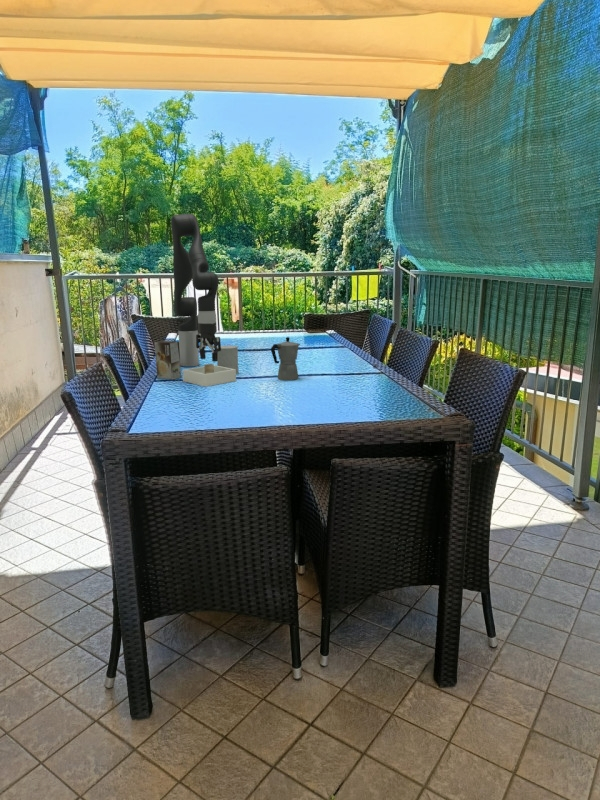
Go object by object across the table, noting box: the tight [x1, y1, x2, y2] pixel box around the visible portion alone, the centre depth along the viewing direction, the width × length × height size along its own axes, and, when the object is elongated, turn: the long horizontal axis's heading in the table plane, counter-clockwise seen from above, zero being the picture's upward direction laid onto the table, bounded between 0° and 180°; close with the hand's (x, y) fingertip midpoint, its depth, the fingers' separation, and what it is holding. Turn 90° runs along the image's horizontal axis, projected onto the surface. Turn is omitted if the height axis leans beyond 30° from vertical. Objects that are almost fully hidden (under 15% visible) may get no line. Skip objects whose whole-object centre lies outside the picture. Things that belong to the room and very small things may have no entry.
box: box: [182, 364, 237, 388], centre depth 234 cm, size 16×16×5 cm
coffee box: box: [154, 339, 182, 380], centre depth 240 cm, size 9×6×16 cm
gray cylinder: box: [216, 344, 239, 376], centre depth 250 cm, size 10×10×12 cm
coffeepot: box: [270, 336, 301, 382], centre depth 236 cm, size 15×9×18 cm, turn 129°
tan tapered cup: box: [203, 363, 214, 374], centre depth 234 cm, size 4×4×6 cm
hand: (208, 360), depth 233 cm, fingers open, 8 cm apart
